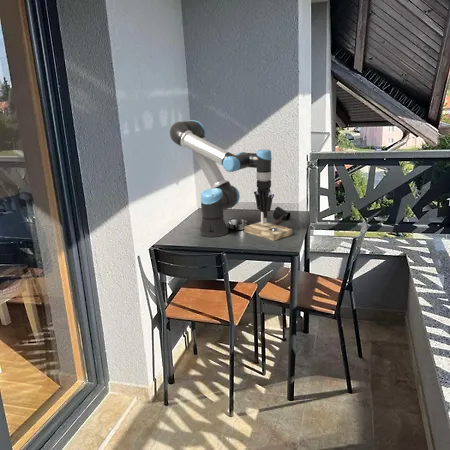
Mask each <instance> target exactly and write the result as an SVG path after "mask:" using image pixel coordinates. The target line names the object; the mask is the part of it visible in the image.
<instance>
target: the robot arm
mask: <svg viewBox="0 0 450 450" xmlns="http://www.w3.org/2000/svg"><path fill="white" fill-rule="evenodd" d="M169 136H170V139H171V141H172V142H173V143H175V144H176V145H178V146H179V147H182V148H187V149H188V150H191V151H192V153H193V155H194V157H195V159H196V161H197V163H198V165H199V166H200V168H201V170H202V172H203V174H204V176H205V177H206V180H207V181H208V184H209V186H211V187H210V188H209V189H208V188H207V189H205V190H203V191H202V192H201V194H200V207H201V209H200V210H201V222H200V227H199V230H198V231H199V236H202V237H206V238H217V237H222V236H225V235H227V234H228V226H227V224H226V222H225V219H224V211H227V210H228V209H232V208H233V207H235V206H236V205H238V203H239V201H240V197H241V196H240V192H239V190H238V188H237V187H236V186H234V185H232V184H231V183H230V181H229V180H227V179H225V177H224V175H223V174H222V172H221V169H220V168H219V166H218V165H221V166H222V167H223V169H224V170H225V171H226V172H228V173H233V172H234V173H235V172H237V171H240V170H242V169H243V170H244V169H247V168H251V169H252V168H253V169H256V188H257V190H255V191H253V194H254V197H255V202H256V203H255V204H256V209H257V210H259V212H260V213H259V217H260V222H261V224H265V223H266V222H267V218H268V212H271V209H272V203H273V199H274V197H275V194H272V192H271V187H272V180H271V179H272V159H273V158H272V151H271V149H263V148H262V149H257V150H256V152H245V151H243V152H237V153H236V154H234V153H232V152H230V151H227V150H226V149H224V148H221V147H220V146H218V145H215V144H213V143H212V142H209V140H208V141H207V138H206V128H205V126H204V124H203V123H202V122H201V121H199V120H193V119H191V120H190V119H189V120H186V121H176V122H175V123H173V125H172V126H171V127H170V130H169Z"/></svg>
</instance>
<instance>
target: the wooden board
mask: <svg viewBox="0 0 450 450" xmlns="http://www.w3.org/2000/svg"><path fill="white" fill-rule="evenodd" d="M243 227H244V228H243V231H244V233H246V234H251V235H252V236H258V237H260V238H263V239H267V240H271V241H278V240H280V239H283V238H287V237H289V236H292V235H293V228H289V227H286V226H283V225H278V224H277V225H275V224H274V223H272V222H268V221H266V223H265V224H261V221H259V222H254V223H252V224H249V225H244V226H243ZM272 228H277V229H278V231H276V232H273V231H271V229H272Z"/></svg>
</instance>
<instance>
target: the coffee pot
mask: <svg viewBox="0 0 450 450" xmlns="http://www.w3.org/2000/svg"><path fill="white" fill-rule="evenodd" d="M291 215H292V214H291V212H287V210H285V209H284V208H281V207H280V206H276V207H275V208H274V210H273V213H272V217H273V219H274V220H275V219H276V221H273V222H271V224H275V225H278V224H279V223H280V221H281V220H285V221H289V220H290V219H291Z"/></svg>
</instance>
